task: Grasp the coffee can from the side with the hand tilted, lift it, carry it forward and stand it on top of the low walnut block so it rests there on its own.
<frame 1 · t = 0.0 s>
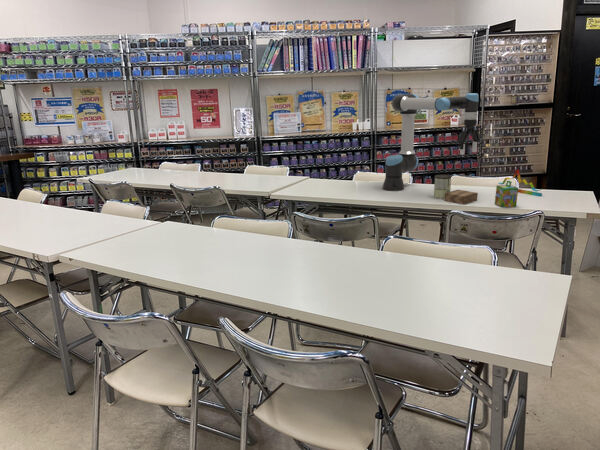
hand: (468, 153, 296), 28 cm above the table, tool pointing down, fingers open, 13 cm apart
chart: (519, 192, 311), on the table
colourful patterned gift box: (505, 205, 279), on the table
walnut block: (460, 200, 293), on the table
coffee can: (441, 197, 304), on the table
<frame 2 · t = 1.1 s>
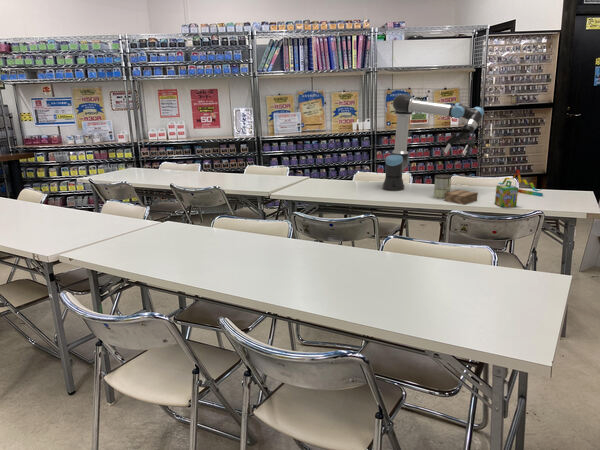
hand: (454, 153, 302), 27 cm above the table, tool tilted 45°, fingers open, 13 cm apart
nothing on the table moved.
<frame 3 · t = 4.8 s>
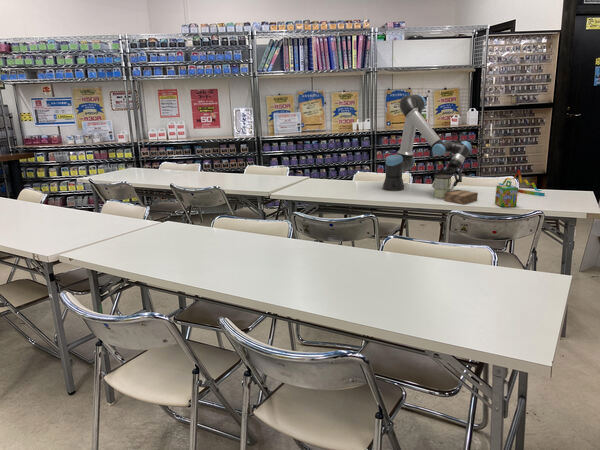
hand: (441, 188, 301), 6 cm above the table, tool tilted 45°, fingers open, 13 cm apart
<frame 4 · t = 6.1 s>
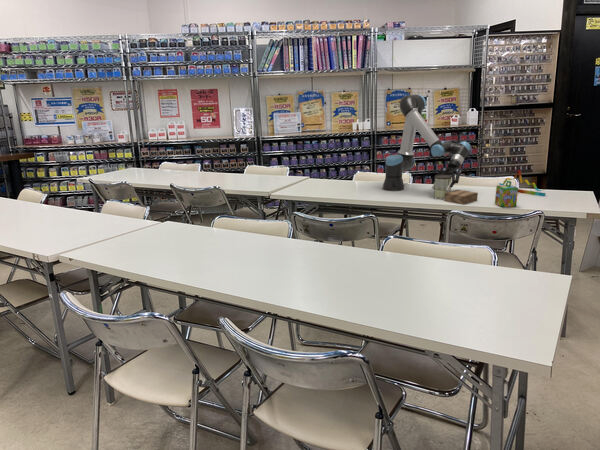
hand: (440, 189, 300), 5 cm above the table, tool tilted 45°, fingers closed on coffee can, 10 cm apart
coffee can: (442, 197, 303), on the table, touching gripper
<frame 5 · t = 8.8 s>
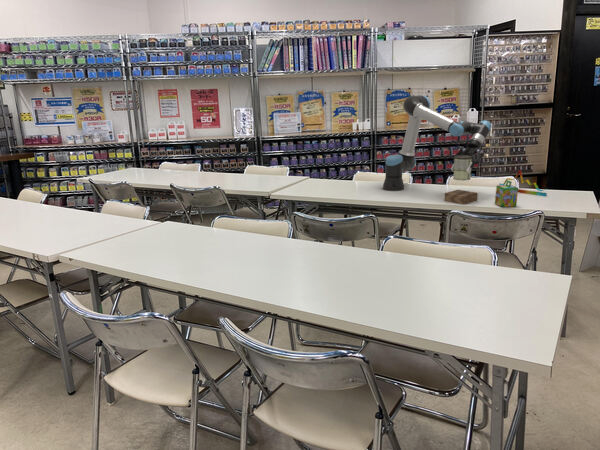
hand: (459, 171, 286), 19 cm above the table, tool tilted 45°, fingers closed on coffee can, 10 cm apart
coffee can: (461, 179, 289), point 14 cm above the table, touching gripper
when the fingers open (11 cm above the table, at t = 11.3 s): coffee can stays where it is, resting on walnut block.
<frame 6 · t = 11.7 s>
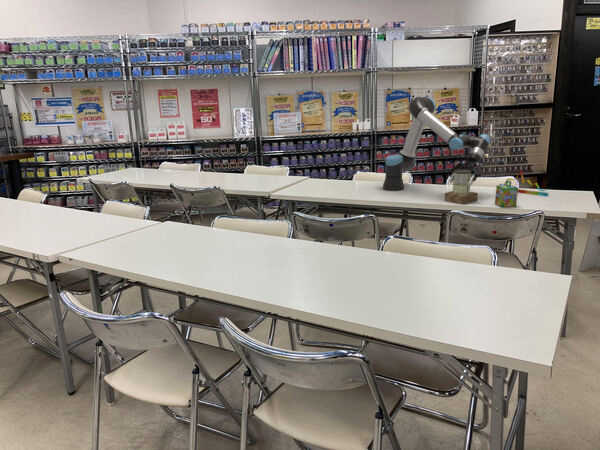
hand: (459, 183, 288), 11 cm above the table, tool tilted 45°, fingers open, 13 cm apart
coffee can: (460, 193, 292), point 5 cm above the table, touching walnut block
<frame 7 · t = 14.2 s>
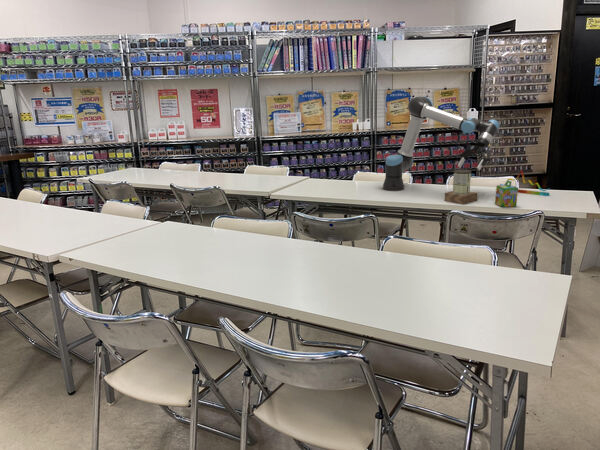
hand: (468, 167, 291), 20 cm above the table, tool tilted 45°, fingers open, 13 cm apart
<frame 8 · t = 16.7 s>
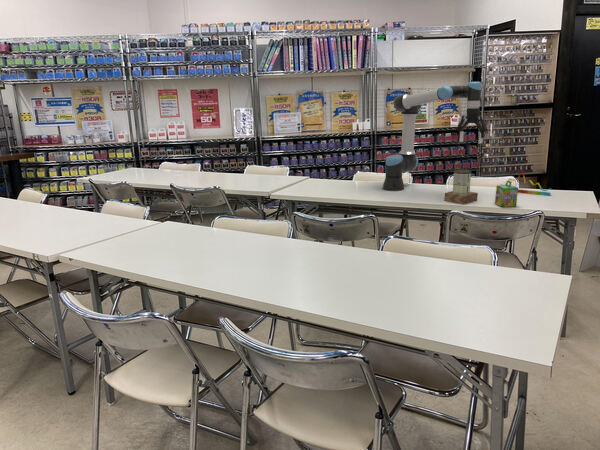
hand: (470, 142, 294), 35 cm above the table, tool pointing down, fingers open, 13 cm apart
at the end: coffee can inside the target area on the walnut block (0.2 cm from its centre), point 4.8 cm above the walnut block's base; coffee can tilted 0°; the gripper is holding nothing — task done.
